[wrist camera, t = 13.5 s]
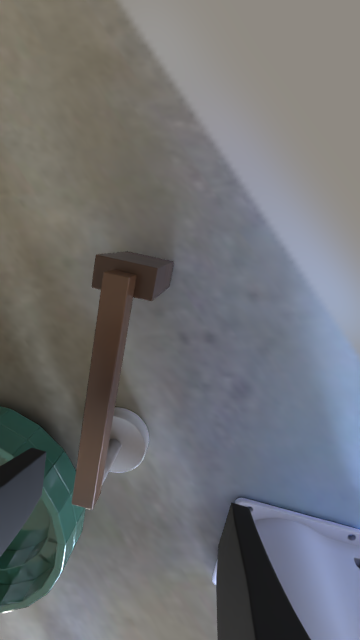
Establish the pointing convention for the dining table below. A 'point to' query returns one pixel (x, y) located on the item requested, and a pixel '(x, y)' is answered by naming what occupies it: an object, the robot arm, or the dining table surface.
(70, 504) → the bowl
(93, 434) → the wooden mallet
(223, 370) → the dining table surface
